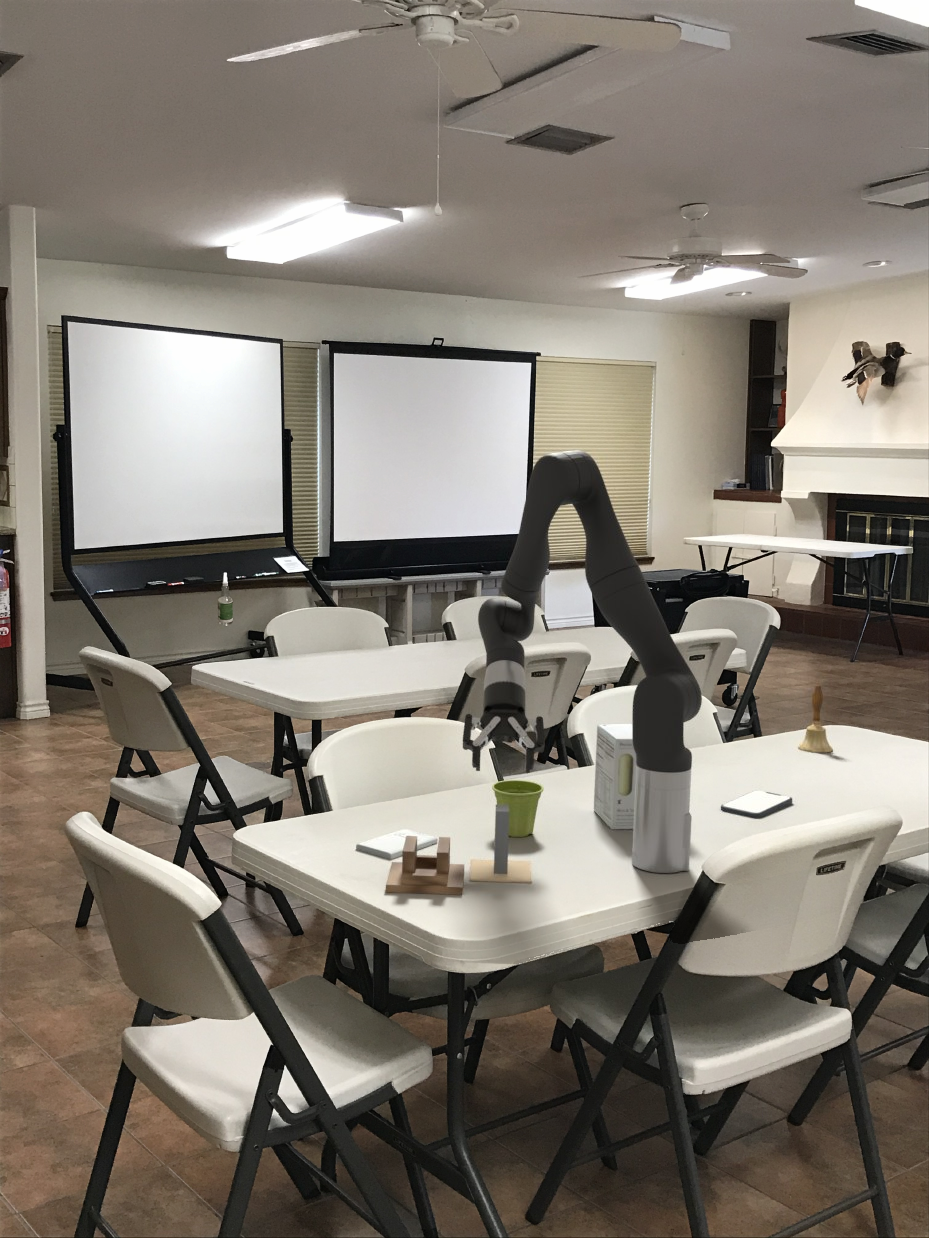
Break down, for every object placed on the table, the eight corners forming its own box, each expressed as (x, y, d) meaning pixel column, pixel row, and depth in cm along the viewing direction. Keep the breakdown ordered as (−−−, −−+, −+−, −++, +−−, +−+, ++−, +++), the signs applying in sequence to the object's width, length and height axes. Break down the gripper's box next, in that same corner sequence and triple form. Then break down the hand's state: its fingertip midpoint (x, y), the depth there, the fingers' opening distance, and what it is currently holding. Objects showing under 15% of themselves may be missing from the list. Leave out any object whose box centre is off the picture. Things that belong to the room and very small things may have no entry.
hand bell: (799, 751, 290) (803, 687, 288) (796, 744, 298) (799, 681, 296) (834, 754, 289) (839, 689, 287) (830, 746, 297) (834, 683, 295)
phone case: (758, 822, 232) (794, 804, 244) (758, 814, 232) (795, 797, 244) (717, 813, 237) (755, 796, 249) (718, 805, 237) (755, 789, 249)
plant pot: (547, 839, 215) (548, 792, 214) (496, 841, 214) (497, 793, 212) (535, 824, 224) (537, 779, 223) (486, 825, 223) (487, 780, 222)
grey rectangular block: (507, 866, 199) (508, 804, 198) (507, 873, 195) (509, 811, 194) (493, 865, 199) (495, 804, 198) (493, 873, 195) (495, 811, 194)
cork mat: (529, 862, 202) (529, 861, 202) (531, 882, 192) (531, 880, 192) (470, 860, 202) (471, 859, 202) (469, 880, 192) (469, 878, 192)
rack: (464, 871, 197) (465, 834, 196) (462, 894, 186) (463, 856, 185) (391, 868, 197) (392, 832, 196) (385, 892, 186) (386, 853, 185)
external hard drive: (355, 852, 207) (403, 836, 217) (391, 862, 202) (437, 845, 212) (355, 843, 207) (403, 827, 217) (391, 853, 202) (437, 836, 212)
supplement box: (610, 830, 222) (614, 738, 220) (592, 810, 235) (595, 723, 233) (679, 828, 224) (683, 737, 222) (657, 809, 237) (661, 722, 235)
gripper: (465, 678, 211) (461, 756, 201) (545, 680, 211) (545, 759, 201) (465, 702, 217) (461, 779, 207) (543, 704, 217) (543, 782, 207)
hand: (502, 769), depth 204 cm, fingers open, 8 cm apart
